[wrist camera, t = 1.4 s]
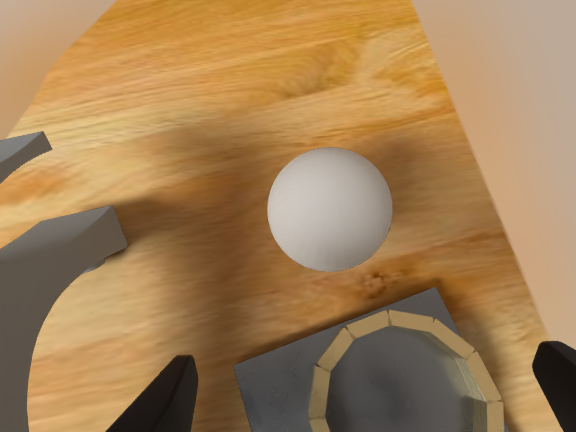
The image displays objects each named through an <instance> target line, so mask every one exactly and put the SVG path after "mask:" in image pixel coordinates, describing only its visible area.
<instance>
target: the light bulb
mask: <svg viewBox="0 0 576 432" xmlns="http://www.w3.org/2000/svg"><path fill="white" fill-rule="evenodd" d="M267 213H268V222H269V225H270V229H271V232H272V234H273V236H274V238H275V240H276V242H277V243H278V245H279V246H280V248H281V249H282V250H283V251H284V252H285V253H286V254H287V255H288V256H289V257H290V258H291V259H293V260H294V261H295V262H297V263H299V264H301V265H302V266H304V267H307V268H310V269H313V270H318V271H323V272H336V271H343V270H347V269H350V268H353V267H355V266H357V265H359V264H361V263H363V262H364V261H366V260H367V259H369V258H370V257H371V256H372V255H373V254H374V253H375V252H376V251H377V250H378V249H379V247H380V246H381V245H382V243H383V242H384V240H385V238H386V236H387V234H388V232H389V229H390V225H391V222H392V213H393V207H392V198H391V194H390V190H389V187H388V185H387V183H386V180H385V179H384V177H383V176H382V174H381V173H380V171H379V170H378V169H377V168H376V167H375V166H374V165H373V164H372V163H371V162H370V161H369V160H367V159H366V158H364V157H363V156H361V155H360V154H357V153H355V152H353V151H350V150H346V149H342V148H336V147H325V148H318V149H314V150H310V151H308V152H305V153H303V154H301V155H299V156H298V157H296V158H294V159H293V160H292V161H291V162H289V163H288V164H287V165H286V166H285V167H284V168H283V169H282V171H281V172H280V173H279V174H278V176H277V178H276V179H275V181H274V183H273V185H272V188H271V190H270V194H269V198H268V209H267Z"/></svg>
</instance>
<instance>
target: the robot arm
mask: <svg viewBox="0 0 576 432" xmlns="http://www.w3.org/2000/svg"><path fill="white" fill-rule="evenodd" d="M532 368H533V372H534V375H535V377H536V379H537V381H538V383H539V385H540V387H541V389H542V391H543V393H544V395H545V396H546V398H547V400H548V402H549V404H550V406H551V408H552V410H553V412H554V414H555V416H556V418H557V420H558V422H559V424H560V426H561V428H562V429H563V431H564V432H576V350H575V349H573V348H571V347H569V346H567V345H566V344H564V343H562V342H559V341H543V342H541V343H540V344H539V346H538V349H537V352H536V355H535V358H534V360H533V364H532ZM197 388H198V374H197V370H196V365H195V361H194V358H193V356H192V355H177V356H176V357H174V358H173V360H172V361H171V362H170V363H169V364H168V365H167V366H166V367H165V368H164V369H163V370H162V371H161V372H160V374H159V375H158V376H157V377H156V378H155V379H154V380H153V381H152V382H151V383H150V384H149V385H148V386H147V387H146V389H145V390H144V391H143V392H142V393H141V394H140V395H139V396H138V397H137V398H136V399H135V400H134V401H133V403H132V404H131V405H130V406H129V407H128V408H127V409H126V410H125V411H124V412H123V413H122V414H121V415H120V416H119V418H118V419H117V420H116V421H115V422H114V423H113V424H112V425H111V426H110V427H109V428H108V429H107V430H106V432H191V426H192V420H193V413H194V407H195V401H196V395H197Z"/></svg>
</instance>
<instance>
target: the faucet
mask: <svg viewBox="0 0 576 432" xmlns="http://www.w3.org/2000/svg"><path fill="white" fill-rule="evenodd" d="M50 150H52V147H51V145H50V143H49V141H48V139H47V137H46V136H45V134H44V132H43V131H41V132H37V133H32V134H27V135H23V136H18V137H13V138H9V139H4V140H0V184H1V183H2V182H3V181H4V180H5V179H6V178H7V177H8V176H9V175H10V174H11V173H12V172H13V171H15V170H16V169H17V168H19V167H20V166H22V165H23V164H25V163H26V162H28V161H30V160H31V159H33V158H35V157H37V156H39V155H41V154H43V153H45V152H47V151H50ZM126 247H128V243H127V240H126V238H125V235H124V233H123V230H122V228H121V225H120V223H119V220H118V217H117V215H116V212H115V210H114V207H113V205H110V206H106V207H101V208H97V209H93V210H88V211H84V212H79V213H75V214H71V215H66V216H62V217H57V218H53V219H48V220H44V221H41V222H39V223H38V224H36V225H35V226H34V227H32V228H31V229H30V230H28V231H27V232H25V233H24V234H23V235H21V236H20V237H18V238H17V239H15V240H14V241H12V242H11V243H9V244H8V245H6V246H5V247H3V248H1V249H0V432H29V427H28V416H27V390H28V379H29V372H30V366H31V360H32V354H33V351H34V347H35V343H36V340H37V336H38V334H39V331H40V329H41V327H42V324H43V322H44V320H45V318H46V317H47V315H48V313H49V311H50V309H51V308H52V306H53V304H54V303H55V301H56V300H57V299H58V297H59V296H60V295H61V293H62V292H63V291H64V290H65V289H66V288H67V287H68V286H69V285H70V284H71V283H72V282H73V281H74V280H75V279H76V278H77V277H79V276H80V275H81V274H83V273H86V272H89V271H92V270H94V269H96V268H98V267H100V266H101V265H103V264H104V262H105V260H104V258H106V257H108V256H110V255H112V254H114V253H116V252H118V251H120V250H122V249H124V248H126Z"/></svg>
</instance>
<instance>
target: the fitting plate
mask: <svg viewBox="0 0 576 432" xmlns="http://www.w3.org/2000/svg"><path fill="white" fill-rule="evenodd" d="M474 350H475V348H474V347H472V346H471V345H470V344H468V343H467V342H466V341H464V340H463V339H462V337H461V335H460V333H459V331H458V329H457V327H456V325H455V323H454V321H453V320H452V318H451V316H450V314H449V312H448V310H447V308H446V306H445V304H444V302H443V300H442V298H441V296H440V294H439V292H438V290H437V288H436V287H434V288H431V289H428V290H426V291H423V292H421V293H418V294H416V295H413V296H410V297H408V298H405V299H403V300H400V301H398V302H395V303H393V304H390V305H387V306H385V307H382V308H380V309H377V310H375V311H372V312H369V313H367V314H364V315H362V316H359V317H357V318H354V319H351V320H349V321H346V322H344V323H341V324H339V325H336V326H333V327H331V328H328V329H326V330H323V331H321V332H318V333H315V334H313V335H310V336H308V337H305V338H303V339H300V340H297V341H295V342H292V343H290V344H287V345H285V346H282V347H279V348H277V349H274V350H272V351H269V352H267V353H264V354H261V355H259V356H256V357H254V358H251V359H249V360H246V361H243V362H241V363H238V364H236V365H233V367H234V370H235V374H236V377H237V381H238V385H239V388H240V392H241V395H242V399H243V402H244V406H245V409H246V413H247V416H248V420H249V424H250V427H251V431H252V432H510V431H509V429H508V427H507V425H506V423H505V421H504V411H503V402H500V401H499V400H501V399H502V398H501V396H500V394H499V392H498V390H497V388H496V386H495V384H494V382H493V380H492V378H491V376H490V375H489V373H488V371H487V369H486V367H485V365H484V363H483V361H482V359H481V357H480V355H479V353H478V352H477V351H474Z"/></svg>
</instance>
